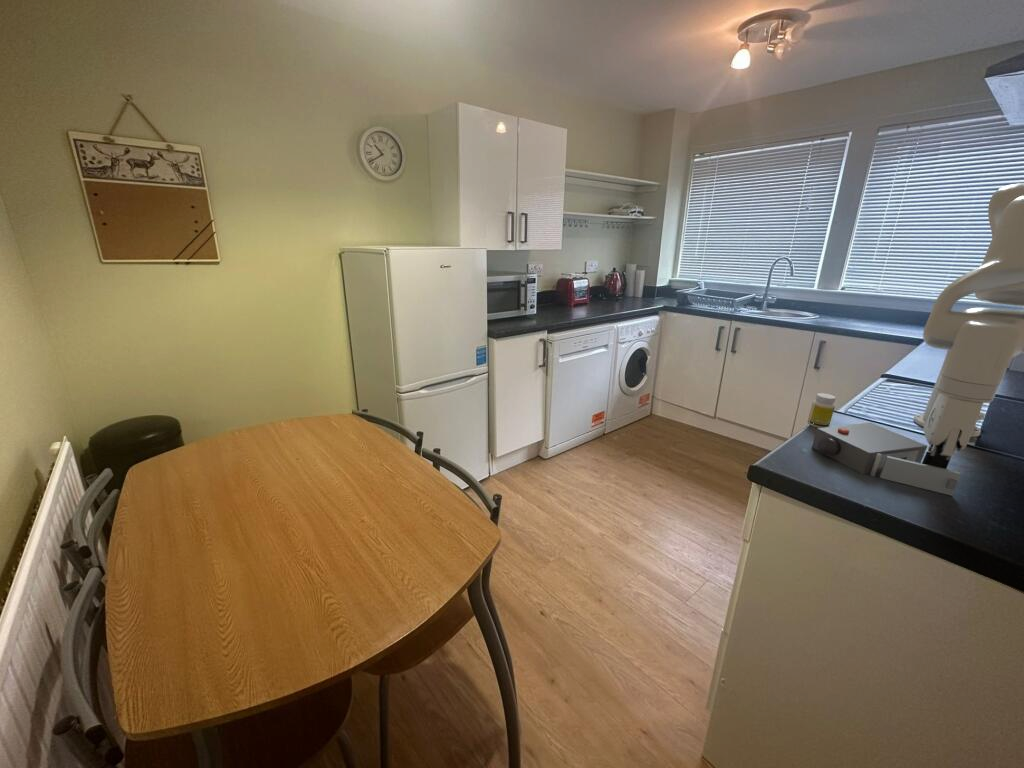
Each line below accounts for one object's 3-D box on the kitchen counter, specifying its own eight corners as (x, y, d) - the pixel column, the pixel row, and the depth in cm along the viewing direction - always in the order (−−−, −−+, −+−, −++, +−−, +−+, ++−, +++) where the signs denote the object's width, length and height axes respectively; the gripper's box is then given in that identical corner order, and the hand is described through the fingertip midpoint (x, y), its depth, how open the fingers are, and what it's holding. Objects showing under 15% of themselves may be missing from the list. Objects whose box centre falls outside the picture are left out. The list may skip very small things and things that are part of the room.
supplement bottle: (832, 429, 108) (841, 399, 105) (812, 428, 109) (820, 398, 106) (823, 422, 112) (831, 393, 109) (803, 420, 113) (811, 391, 110)
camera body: (864, 441, 102) (871, 420, 100) (926, 469, 90) (935, 446, 88) (805, 447, 98) (811, 426, 96) (861, 478, 86) (870, 454, 84)
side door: (950, 493, 81) (960, 472, 79) (953, 497, 80) (962, 475, 78) (879, 475, 87) (886, 455, 85) (880, 479, 85) (888, 458, 84)
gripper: (933, 373, 85) (903, 452, 91) (943, 394, 74) (909, 482, 80) (986, 381, 80) (951, 463, 87) (1006, 404, 69) (964, 497, 76)
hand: (931, 472), depth 83 cm, fingers closed
